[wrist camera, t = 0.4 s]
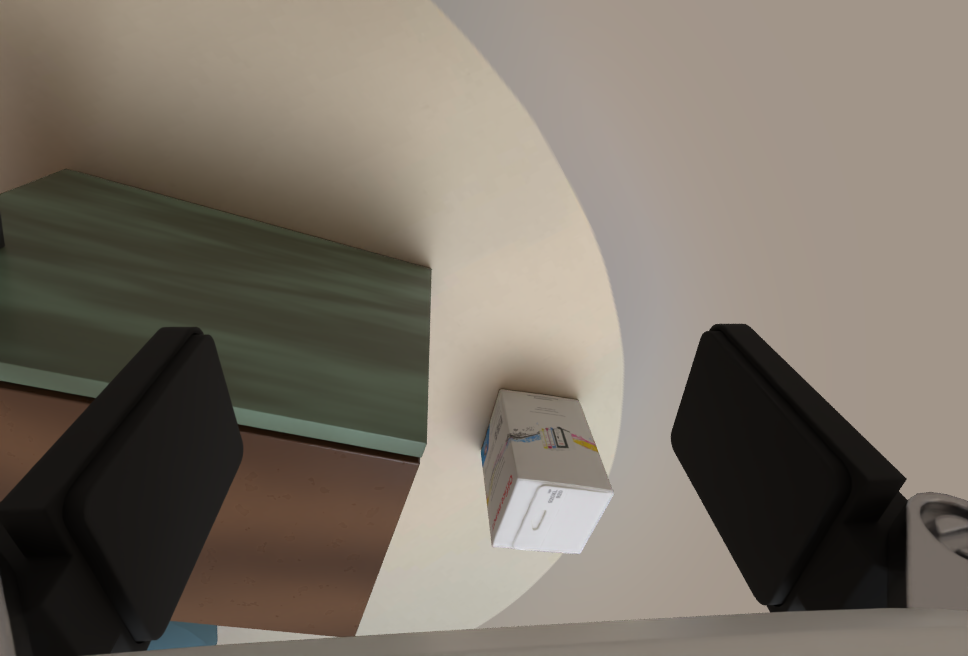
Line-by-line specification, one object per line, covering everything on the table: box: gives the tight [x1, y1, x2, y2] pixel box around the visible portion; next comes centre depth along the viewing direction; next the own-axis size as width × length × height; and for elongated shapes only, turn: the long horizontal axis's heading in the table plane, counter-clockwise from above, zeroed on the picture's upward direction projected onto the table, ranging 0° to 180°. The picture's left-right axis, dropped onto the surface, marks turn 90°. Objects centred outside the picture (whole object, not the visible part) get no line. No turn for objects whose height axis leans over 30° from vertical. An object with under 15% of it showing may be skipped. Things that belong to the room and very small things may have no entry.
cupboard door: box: [0, 169, 432, 458], centre depth 28 cm, size 8×26×20 cm, turn 71°
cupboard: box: [0, 381, 420, 637], centre depth 34 cm, size 16×26×20 cm, turn 71°
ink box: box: [481, 389, 614, 554], centre depth 46 cm, size 9×8×12 cm
